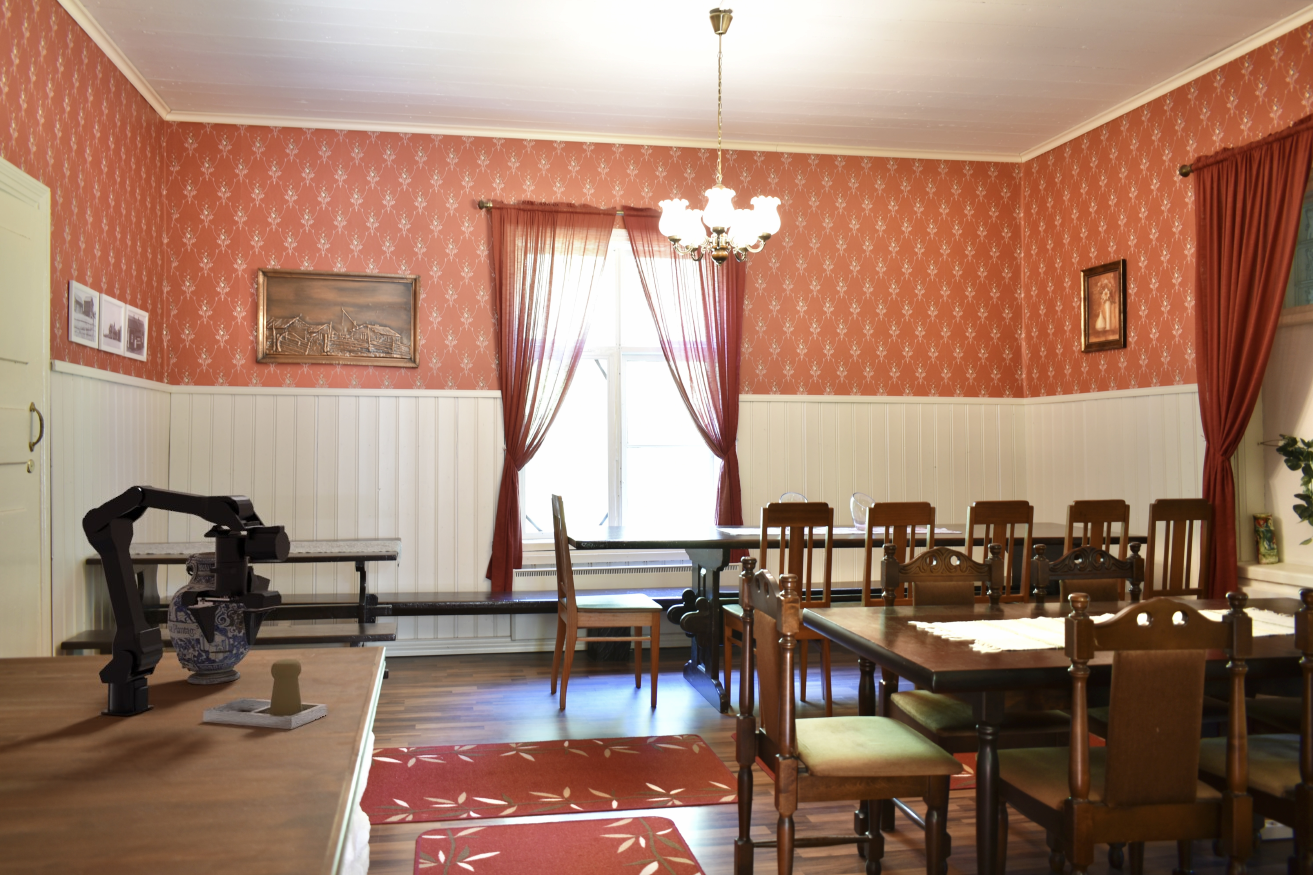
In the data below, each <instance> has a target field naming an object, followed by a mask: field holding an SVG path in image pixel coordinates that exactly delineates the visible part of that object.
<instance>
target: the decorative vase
mask: <svg viewBox="0 0 1313 875" xmlns="http://www.w3.org/2000/svg"><path fill="white" fill-rule="evenodd" d="M185 567H186V568H185V571H186V572H187V574H188V575H189V576H190V579H189V581H188V583H187V584H185V585H183V586H182V587H180V588H178V590H177V591H175V592H174V594H173V596H172V597H171V600H170V603H169V606H168V610H167V627H168V628H167V629H168V635H169V638H170V641H171V643H172V646H173V649H174V650H175V653H176V657H177V659H178V662H179V664H180V665H181V668H182V669H186V670H187V671H188V672H193V673H191V674H190V675H188V676H187V679H186V682H187V683H188V684H189V683H190V684H193V685H217V684H224V683H228V682H230V683H231V682H233V681H236V680H238V679H240V678H241V673H240V672H239V671H238V670H236V669H234V668H235V666H237V665H238V664H239V663H240V662H241V661H243V660H244V659H245V657H247V655H248V653H249V652H250V650H251V648H252V646H253V645H251V646H248V643H247V640H246V633H245V626H244V619H243V612H242V611H243V610H247V608H246V607H245V605H244V604H240V603H215V602H213V604H220V606H219V608H218V610H217V612H216V614H215V633H214V641H213V643H210V644H209V643H207V641H206V639H205V637H204V635H203V633H202V631H201V629H200V627H199V626H198V624H197V622H196V621H195V619H194V618H193V616H192V614H191V613H190V611H187V610H186V608H187V607H189V606H181V595H182V594H183V593H184V591H186V590H192V589H199V588H215V573H210V568H213V567H215V551H207V552H206V551H205V552H204V551H203V552H199V553H192V554H190V555H188V558H187V560H186V562H185ZM224 598H228V596H224Z"/></svg>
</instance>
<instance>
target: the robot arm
mask: <svg viewBox="0 0 1313 875" xmlns="http://www.w3.org/2000/svg"><path fill="white" fill-rule="evenodd" d="M149 508H150V509H157V510H162V511H163V510H164V511H168V512H175V513H181V514H187V515H188V514H189V515H193V516H196V517H198V518H201V519H202V520H204V521H206V522H209V523H212V524H214V525H212V527H211V528H210V529H208V531H206V532H205V533H204V534H203V537H204V538H205V539H207V538H210V539H211V538H212V539H213V538H215V543H214V544H215V547H214V548H215V550H214V552H215V567H213V568H210V573H215V588H199V589H192V590H186V591H184V593H183V594H182V595H181V606H189V607H187V608H186V610H187V611H190V613H191V614H192V616H193V618H194V619H195V621H196V622H197V624H198V626H199V627H200V629H201V631H202V633H203V635H204V637H205V639H206V641H207V643H209V644H210V643H213V641H214V633H215V614H216V612H217V610H218V608H219V606H220V604H213V602H215V603H240V604H244V605H245V607H246V608H247V610H243V611H242V612H243V619H244V626H245V633H246V640H247V643H248V646H251V645H252V646H254V644H255V642H256V639H257V637H258V635H259V634H258V633H259V631H260V629H261V626H262V624H263V622H264V619H265V617H266V616H267V615H268V614H269V613H270V612H271V611H274V610H276V607H279V606H282V594H281V593H280V591H279V590H272V589H271V590H269V587H270V583H271V579H270V578H267V577H264V576H262V575H259V574H255V572H254V570H255V569H254V566H253V565H249V560H251V561H252V562H285V561H286V560H287V559H288V557H289V556H290V552H291V541H290V538H289V535H288V533H287V532H286V531H285V527H286V526H285V525H284V524H283V525H282V524H281V525H271V526H269V525H268V526H267V525H265V524H264V522H263V520H262V519H261V518H260V516H259V515H258V514H257V512H256V510H255V509H254V505H253V502H252V500H251V499H250V497H249V496H246V495H243V494H235V495H234V494H233V495H232V494H231V495H229V494H228V495H204V494H203V495H202V494H197V493H191V492H185V491H184V492H183V491H178V490H173V489H172V490H171V489H165V488H159V487H154V486H152V485H133V486H131V487H129V488H128V489H126V490H125V491H124V492H123V493H122V492H121V494H119V495H117V496H115V497H113V498H111V499H109V500H107V501H106V502H104V503H102V504H101V505H100V506H98V507H94V508H91V509H89V510H88V511H87V512H86V514H85V515H84V517H82V520H81V526H82V530H83V532H84V535H85V537H86V540H87V542H88V543H89V545H90V546H91V547H92V548H93V550H95V552H96V553H97V554H98V556H99V557H100V560H101V565H102V569H103V570H102V571H103V574H104V579H105V583H106V587H107V591H108V596H109V600H110V604H111V609H112V614H113V617H114V618H113V619H114V622H115V627H116V628H115V629H116V630H115V634H114V637H113V641H112V645H111V651H112V652H111V653H112V659H111V660H110V661H109V662H108V663H106V665H105V666H104V667H103V668H102V669H100V671H98V672H99V673H98V675H99V678H100V682H101V684H107V709H104V710H100V714H101V715H109V716H121V717H129V716H132V715H136V714H138V713H142V712H146V711H148V710H153V709H154V708H155V707H154V705H152V704H151V705H150V704H149V692H150V690H149V685H148V677H147V676H151V675H153V674H154V673H155V670H156V668H157V665H158V664H159V663H160V662H161V659H162V658H163V654H164V651H163V649H164V648H166V645H165V643H164V642H163V639H162V630H161V628H160V627H159V626H157V627H154V628H152V627H151V626H150V625H149V623H148V622H147V620H146V618H145V612H144V611H143V610H144V609H143V605H142V600H141V597H140V596H141V595H140V592H139V588H138V582H137V579H136V575H135V574H136V573H135V570H134V565H133V560H132V556H131V551H130V548H131V545H132V541H133V537H134V523H136V522H137V521H138V520H139V519H141V518H142V517H143V516H144V515H145V513H146V512H147V510H148V509H149ZM224 527H226V528H224ZM242 532H246V533H242ZM224 596H228V598H224ZM252 646H251V647H252Z"/></svg>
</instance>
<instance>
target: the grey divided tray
mask: <svg viewBox="0 0 1313 875" xmlns="http://www.w3.org/2000/svg"><path fill="white" fill-rule="evenodd" d="M301 704H302V712H300V713H297V714H295V715H292V716H285V715H272V714H269V711H270V705H271V699H263V698H262V699H261V698H248V697H247V698H246V697H241V698H238V699H235V700H231V701H228V702H226V703H223V704H220V705H216V706H213V707H210V708H206V709H204V710H203V712H202V713H203V715H202V716H203V720H202V722H203V723H216V724H228V725H238V726H248V727H249V726H250V727H262V728H273V729H283V730H286V729H287V730H293V729H296V728H298V727H302V726H303V725H306V724H308V723H310V722H313V721H315V719H316V720H318V719H320V717H321V718H323V717H322V716H324V717H326V716H328V704H327V703H325V704H324V703H315V702H313V703H312V702H302V701H301ZM244 711H246V712H244ZM247 711H249V712H247ZM325 715H326V716H325Z"/></svg>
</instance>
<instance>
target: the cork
mask: <svg viewBox="0 0 1313 875" xmlns="http://www.w3.org/2000/svg"><path fill="white" fill-rule="evenodd" d="M301 673H302V663H301V662H300V660H297V659H296V658H295V659H294V658H284V659H283V658H282V659H280V660H279V659H278V660H276V661H274V662H273V663H272V665H271V667H270V674H271V676H272V678H273V685H272V691H271V692H272V693H271V699H270V700H271V705H270V711H269V714H272V715H285V716H292V715H295V714H297V713H300V712H302V704H301V702H302V698H301V688H300V682H299V676H300V675H301Z"/></svg>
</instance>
